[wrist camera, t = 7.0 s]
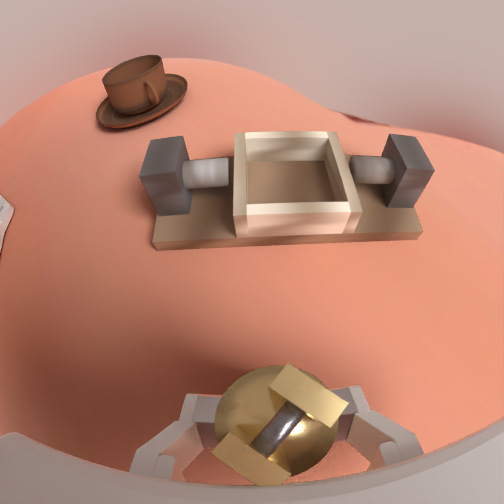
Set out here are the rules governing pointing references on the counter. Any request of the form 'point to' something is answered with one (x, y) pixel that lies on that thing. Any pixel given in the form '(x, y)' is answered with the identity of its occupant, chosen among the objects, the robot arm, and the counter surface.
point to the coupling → (275, 424)
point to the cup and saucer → (139, 92)
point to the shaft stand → (284, 191)
